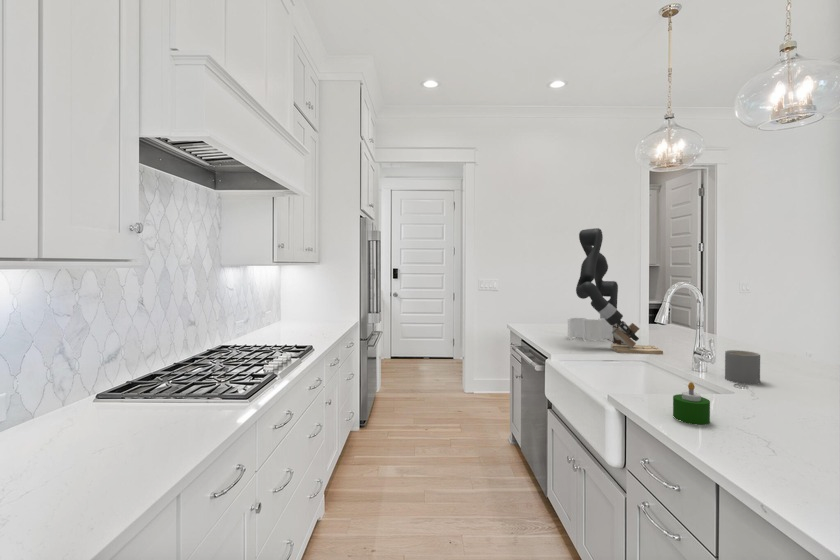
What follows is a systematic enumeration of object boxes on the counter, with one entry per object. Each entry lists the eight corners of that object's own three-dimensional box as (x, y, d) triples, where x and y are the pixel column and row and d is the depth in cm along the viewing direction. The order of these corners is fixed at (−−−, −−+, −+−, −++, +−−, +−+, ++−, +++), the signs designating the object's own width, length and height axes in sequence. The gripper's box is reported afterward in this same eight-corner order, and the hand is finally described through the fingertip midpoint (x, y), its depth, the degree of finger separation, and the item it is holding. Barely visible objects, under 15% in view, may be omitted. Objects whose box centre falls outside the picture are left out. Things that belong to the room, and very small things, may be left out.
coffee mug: (763, 385, 142) (763, 356, 142) (727, 382, 147) (727, 354, 147) (754, 376, 154) (754, 350, 154) (721, 373, 159) (721, 347, 159)
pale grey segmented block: (613, 339, 239) (613, 318, 238) (615, 342, 229) (615, 320, 229) (567, 337, 247) (567, 317, 246) (567, 340, 237) (567, 319, 237)
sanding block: (611, 332, 210) (626, 318, 208) (628, 346, 208) (642, 331, 206) (614, 334, 204) (629, 319, 202) (631, 348, 202) (645, 333, 201)
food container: (634, 346, 216) (634, 327, 216) (622, 346, 217) (622, 327, 216) (623, 342, 229) (623, 324, 229) (612, 342, 229) (612, 324, 229)
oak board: (611, 347, 214) (611, 344, 214) (654, 348, 209) (654, 345, 209) (617, 352, 200) (617, 349, 200) (663, 354, 195) (663, 351, 195)
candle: (675, 411, 117) (675, 376, 117) (711, 418, 112) (711, 381, 112) (670, 420, 111) (670, 382, 110) (708, 427, 105) (708, 388, 105)
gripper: (619, 310, 200) (646, 336, 197) (613, 307, 213) (638, 332, 211) (606, 320, 201) (633, 347, 198) (601, 317, 215) (627, 342, 212)
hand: (636, 339), depth 204 cm, fingers closed on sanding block, 3 cm apart
